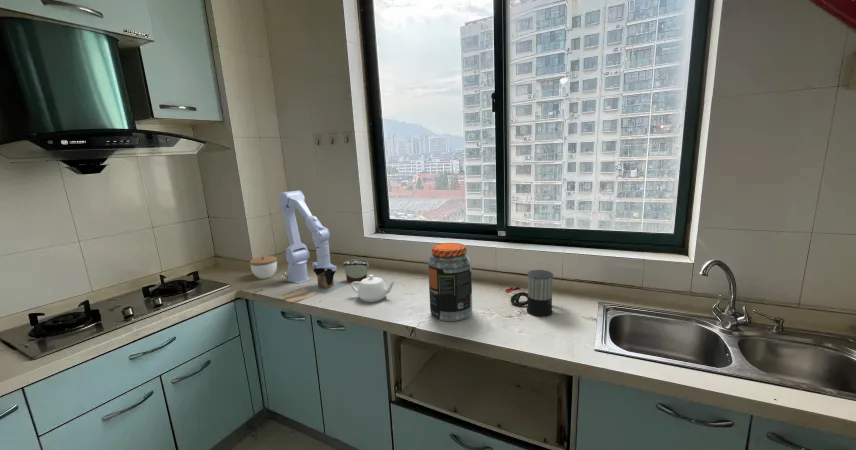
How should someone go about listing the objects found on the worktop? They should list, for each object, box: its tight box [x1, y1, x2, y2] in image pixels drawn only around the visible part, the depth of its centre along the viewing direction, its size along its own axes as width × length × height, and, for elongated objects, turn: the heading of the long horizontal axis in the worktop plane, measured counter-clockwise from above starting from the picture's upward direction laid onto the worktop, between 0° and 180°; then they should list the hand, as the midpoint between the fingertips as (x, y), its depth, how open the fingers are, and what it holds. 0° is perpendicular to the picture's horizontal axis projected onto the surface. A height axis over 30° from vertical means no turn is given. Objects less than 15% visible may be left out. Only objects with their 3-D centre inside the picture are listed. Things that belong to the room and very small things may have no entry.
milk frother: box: [510, 269, 554, 317], centre depth 136 cm, size 14×16×15 cm
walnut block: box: [316, 273, 334, 289], centre depth 168 cm, size 5×5×6 cm
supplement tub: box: [427, 242, 473, 322], centre depth 133 cm, size 16×16×26 cm
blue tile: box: [304, 281, 348, 295], centre depth 168 cm, size 14×14×1 cm
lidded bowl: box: [249, 255, 278, 280], centre depth 186 cm, size 13×13×11 cm
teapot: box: [350, 274, 396, 303], centre depth 152 cm, size 20×12×10 cm, turn 76°
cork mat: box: [277, 288, 319, 305], centre depth 158 cm, size 12×12×1 cm
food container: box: [342, 258, 369, 283], centre depth 175 cm, size 12×6×10 cm, turn 84°
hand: (325, 283), depth 168 cm, fingers closed on walnut block, 5 cm apart
